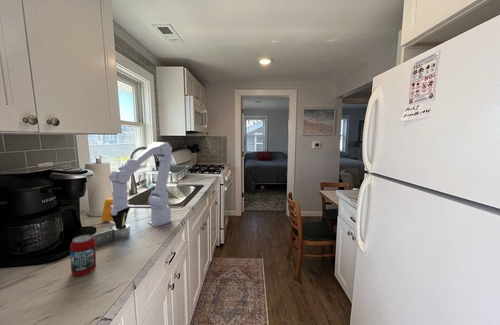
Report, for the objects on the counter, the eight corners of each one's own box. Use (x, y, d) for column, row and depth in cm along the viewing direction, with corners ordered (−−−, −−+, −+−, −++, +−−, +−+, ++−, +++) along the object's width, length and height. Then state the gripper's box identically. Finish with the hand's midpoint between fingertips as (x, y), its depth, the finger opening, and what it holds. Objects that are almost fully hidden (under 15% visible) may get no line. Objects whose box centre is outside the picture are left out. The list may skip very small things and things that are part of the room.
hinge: (117, 228, 108) (117, 218, 107) (132, 236, 100) (132, 226, 99) (83, 238, 96) (82, 228, 95) (96, 249, 88) (96, 237, 87)
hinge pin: (124, 227, 101) (123, 211, 100) (128, 229, 99) (127, 213, 98) (115, 230, 98) (114, 213, 97) (118, 232, 95) (117, 215, 95)
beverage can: (68, 279, 69) (66, 244, 68) (74, 268, 75) (72, 235, 74) (94, 274, 72) (93, 240, 71) (97, 263, 78) (96, 232, 77)
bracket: (115, 223, 114) (114, 201, 113) (101, 222, 114) (100, 200, 113) (126, 215, 125) (126, 195, 124) (114, 215, 125) (114, 195, 124)
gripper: (117, 192, 103) (118, 219, 104) (102, 200, 89) (103, 232, 90) (133, 192, 104) (133, 218, 106) (121, 200, 90) (121, 231, 92)
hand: (120, 225), depth 98 cm, fingers closed on hinge pin, 4 cm apart
